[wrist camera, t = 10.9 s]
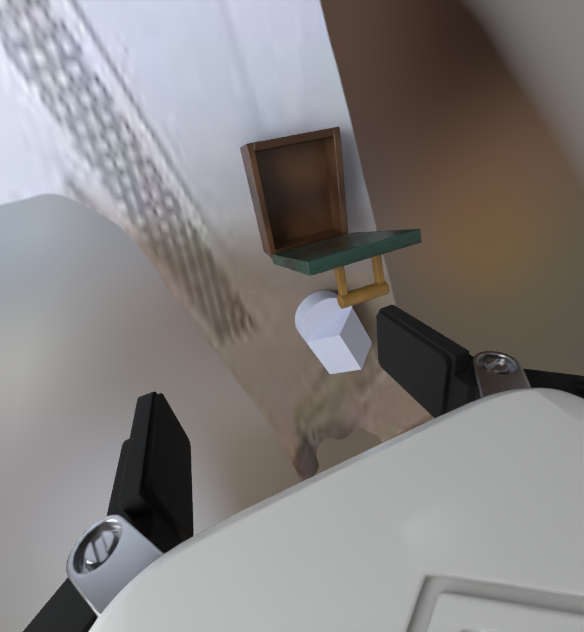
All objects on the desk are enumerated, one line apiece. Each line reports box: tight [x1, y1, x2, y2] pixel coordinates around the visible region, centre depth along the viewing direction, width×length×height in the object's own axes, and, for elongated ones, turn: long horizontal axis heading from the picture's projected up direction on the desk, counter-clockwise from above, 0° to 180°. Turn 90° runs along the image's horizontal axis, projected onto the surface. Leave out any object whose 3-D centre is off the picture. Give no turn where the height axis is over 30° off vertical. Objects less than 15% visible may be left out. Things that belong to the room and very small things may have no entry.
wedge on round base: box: [295, 290, 372, 374], centre depth 45 cm, size 9×7×13 cm
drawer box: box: [240, 127, 348, 258], centre depth 36 cm, size 13×11×4 cm
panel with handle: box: [272, 229, 421, 309], centre depth 31 cm, size 13×11×6 cm
